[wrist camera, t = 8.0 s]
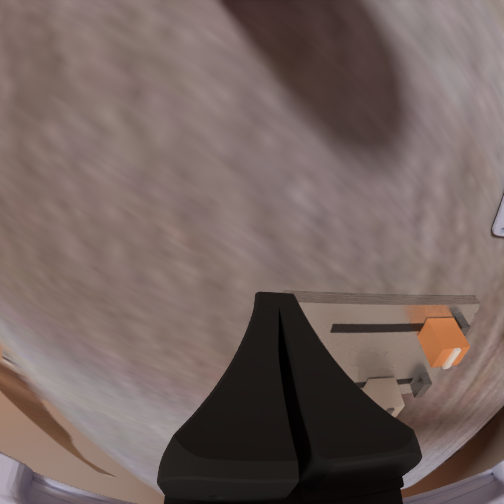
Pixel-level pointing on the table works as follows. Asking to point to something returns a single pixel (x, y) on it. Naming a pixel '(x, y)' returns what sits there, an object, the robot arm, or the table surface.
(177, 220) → the table surface
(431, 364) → the fader orange
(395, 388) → the fader white
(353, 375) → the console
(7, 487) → the robot arm
